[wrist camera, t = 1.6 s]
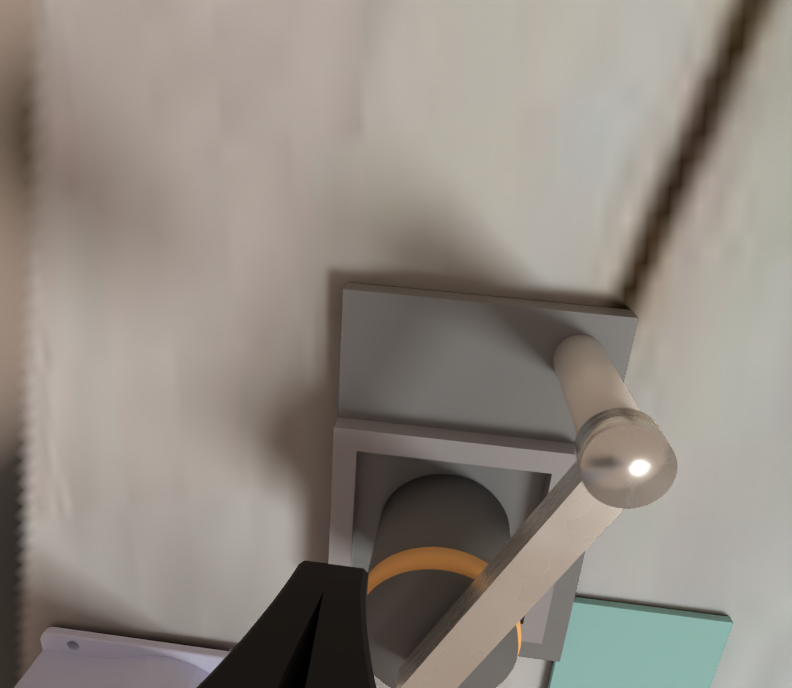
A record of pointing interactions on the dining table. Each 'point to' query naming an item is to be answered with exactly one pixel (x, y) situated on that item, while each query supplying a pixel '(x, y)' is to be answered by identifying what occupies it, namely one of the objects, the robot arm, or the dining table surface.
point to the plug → (432, 570)
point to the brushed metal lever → (547, 543)
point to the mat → (639, 647)
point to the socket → (469, 410)
